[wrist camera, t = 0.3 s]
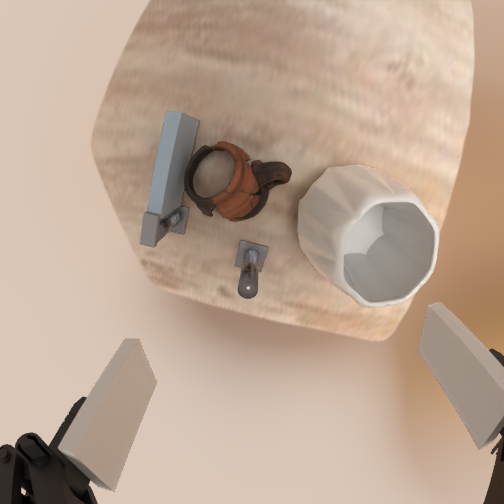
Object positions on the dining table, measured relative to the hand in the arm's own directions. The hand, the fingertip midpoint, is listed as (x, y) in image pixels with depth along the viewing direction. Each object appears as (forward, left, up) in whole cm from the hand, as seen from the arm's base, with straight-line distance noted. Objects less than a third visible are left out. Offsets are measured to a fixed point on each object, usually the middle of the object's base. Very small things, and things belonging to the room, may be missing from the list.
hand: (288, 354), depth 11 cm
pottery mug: (-4, -5, -26) cm, 27 cm away
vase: (-3, +9, -26) cm, 28 cm away
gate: (-3, -12, -26) cm, 29 cm away
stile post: (+6, -1, -26) cm, 27 cm away
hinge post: (+3, -12, -26) cm, 29 cm away
